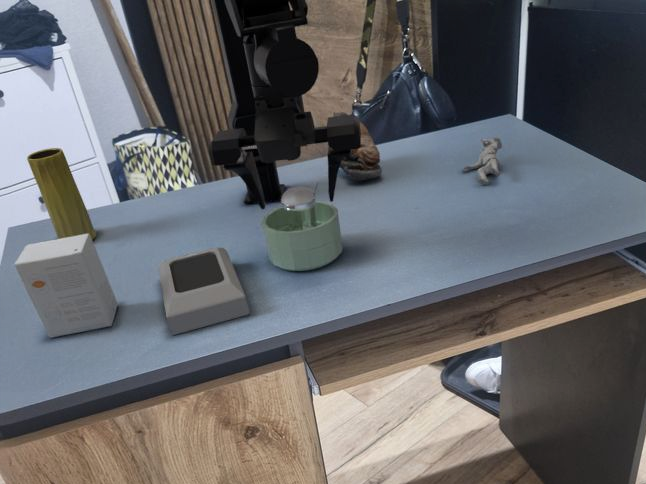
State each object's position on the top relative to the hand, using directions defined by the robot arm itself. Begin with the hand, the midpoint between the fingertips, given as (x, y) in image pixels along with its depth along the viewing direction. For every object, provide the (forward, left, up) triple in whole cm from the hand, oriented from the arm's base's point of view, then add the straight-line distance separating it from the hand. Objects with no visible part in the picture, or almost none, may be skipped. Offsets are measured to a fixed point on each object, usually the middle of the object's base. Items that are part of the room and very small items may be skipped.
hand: (297, 204), depth 85 cm
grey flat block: (+9, -13, -8) cm, 18 cm away
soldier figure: (-24, +29, -8) cm, 38 cm away
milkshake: (0, +1, -7) cm, 7 cm away
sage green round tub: (0, 0, -8) cm, 8 cm away
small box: (+12, -28, -8) cm, 31 cm away
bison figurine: (-30, +7, -8) cm, 32 cm away
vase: (-15, -39, -8) cm, 43 cm away
